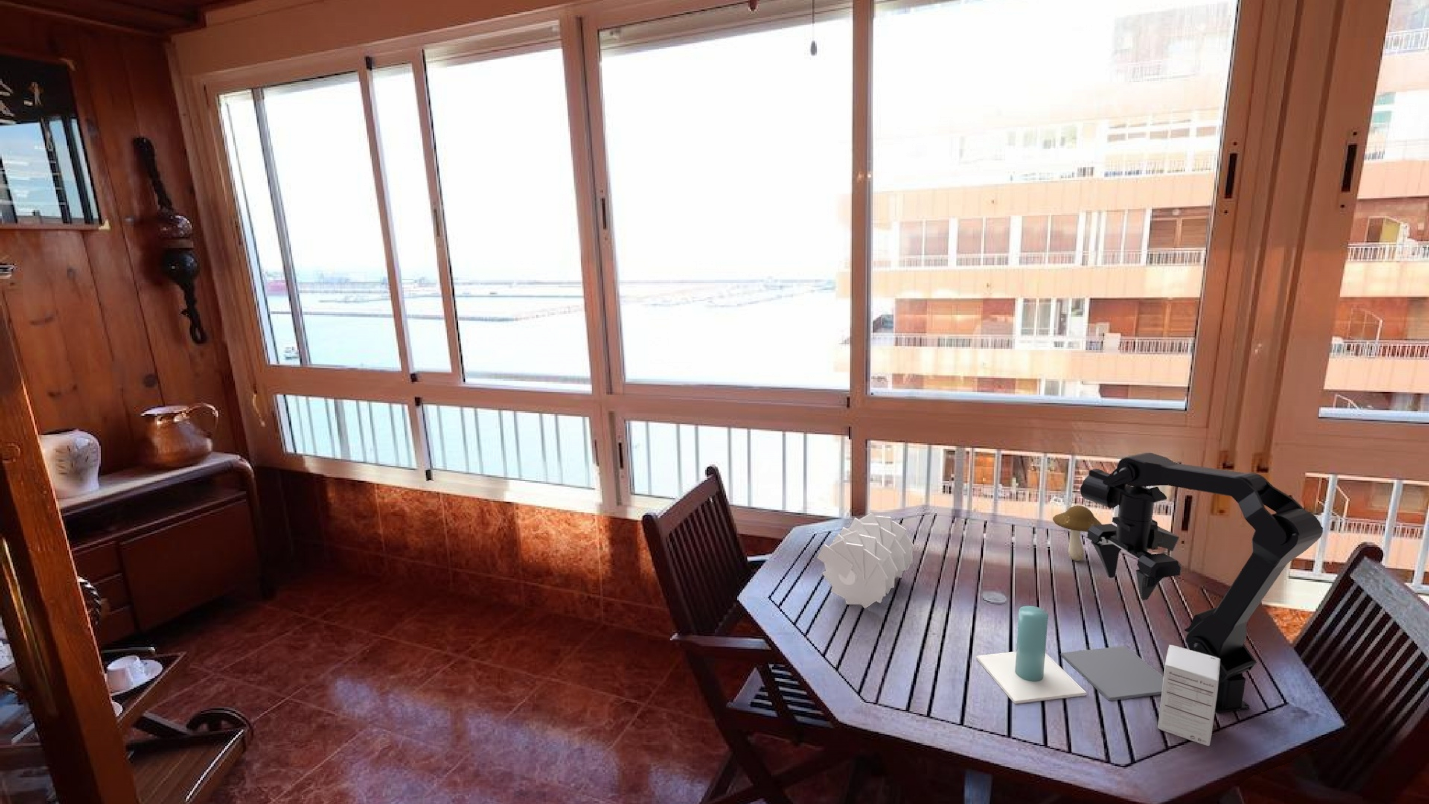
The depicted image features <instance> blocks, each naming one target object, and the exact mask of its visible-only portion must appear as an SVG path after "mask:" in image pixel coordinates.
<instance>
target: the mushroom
mask: <svg viewBox="0 0 1429 804" xmlns="http://www.w3.org/2000/svg"><path fill="white" fill-rule="evenodd" d="M1052 521H1053V523H1054V524H1056V525H1057V526H1059V527H1061V528H1064V529H1067V530H1070V535H1069V541H1068V555H1069V558H1070V559H1071V560H1073V561H1075V562H1080V561H1083V559H1084V557H1085V552H1084V547H1083V544H1082V543H1083V542H1082V539H1081V532H1083V533H1084V532H1085V533H1088V529H1089V528H1090V527H1091V526H1092V525H1102V524H1103V523H1102V522H1101V521H1099V519H1097V518H1096V516H1095V515H1094V513H1093V511H1092V510H1090V509H1089V508H1088V507H1086V506H1084V505H1073V506H1071V507H1069V508H1068V509H1067V510H1065V512H1061V513H1058V514H1055V515H1054V516H1053V517H1052Z"/></svg>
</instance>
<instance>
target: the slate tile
mask: <svg viewBox="0 0 1429 804" xmlns="http://www.w3.org/2000/svg"><path fill="white" fill-rule="evenodd" d="M1060 656H1061V658H1063V659H1064V661H1066V662H1067V663H1068V664H1069V665H1070V666H1071V667H1072V668H1074V669H1075V670H1076V671H1077V672H1078V674H1079V675H1081V676H1082V677H1083V678H1084V679H1085V680H1086V681H1087V682H1088V683H1090V684H1091V685H1092V686H1093V687H1094V688H1095V689H1096V691H1098V692H1099V693H1100V694H1102V696H1103V697H1104V698H1105V699H1107V700H1108V701H1115V700H1125V699H1126V700H1127V699H1132V698H1133V699H1134V698H1141V697H1149V696H1150V697H1151V696H1158V695H1162V686H1163V678H1164V675H1162V674H1161V673H1160V672H1159V671H1158V670H1156V669H1155V668H1154V667H1152V666H1151V665H1150V664H1149V663H1147V662H1146V660H1144V659H1142V657H1140V656H1138V655H1137V654H1136V653H1135V652H1134V651H1133V650H1131V649H1130V648H1129V647H1127V646H1126V645H1121V646H1120V645H1119V646H1113V647H1111V646H1110V647H1104V648H1103V647H1101V648H1094V649H1092V648H1091V649H1085V650H1084V649H1083V650H1075V651H1065V652H1061V653H1060Z"/></svg>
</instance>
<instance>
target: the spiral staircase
mask: <svg viewBox="0 0 1429 804" xmlns="http://www.w3.org/2000/svg"><path fill="white" fill-rule="evenodd" d="M914 547H915V545H914V544H913V542H912V540H911V538H910V537H909V535H908V533H907V528H905V527H903V526H902V525H901V524H899V523H898V522H896V521H894V520H892V517H891V516H882V515H875V514H874V513H873V512H871V513H869V514H866V515H865V516H863V517H861V518H857V517H854V518H853V521H852V522H851V524H850V526H849V527H844V526H843V527H842V529H841V531H840V534H839V533H837V535H835V537H834V539H833V541H832V542H831V543H830V545H828V544H825V543H824V544H823V546H822V548H820V551H819V553H818V556H817V557H816V558H817V559H818V560H820V561H821V562H822V563H823V564H824V569H825V571H823V572H822V575H823V577H824V578H825V580H827V581H828V583H829V584H830V585H831V590H830V592H831V593H833V594H835V595H837V596H839V597H840V598H843V599H844V600H845V602H846V605H861V606H862V607H863V608H864V609H867V608H868V607H869V606H871V605H873V604H874V603H875V602H877V603H879V604H881V603H882V601H883V598H884V597H886V596H887V594H888V595H889V593H890V590H891V589H894V588H895V580H896V578H897V577H898V578H900V579H902V577H903V573H904V572H905V571H908V570H909V568H910V565H911V564H913V563H914V562H913V561H914V560H913V548H914Z"/></svg>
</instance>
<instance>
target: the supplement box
mask: <svg viewBox="0 0 1429 804" xmlns="http://www.w3.org/2000/svg"><path fill="white" fill-rule="evenodd" d="M1219 670H1220V659H1219V658H1217V657H1213V656H1210V655H1207V654H1203V653H1199V652H1195V651H1192V650H1189V648H1184V647H1181V646H1176V645H1173V644H1168V649H1167V651H1166V657H1165V664H1164V671H1163V676H1164V678H1163V686H1162V694H1160V695H1161V696H1160V706H1159V716H1158V722H1157V724H1158V725H1157V728H1158V729H1159V730H1160V731H1163V732H1166V733H1169V734H1172V735H1175V736H1178V737H1181V738H1183V739H1185V740H1186V739H1187V740H1189V741H1192V742H1194V743H1198V744H1200V745H1204V746H1207V747H1210V745H1211V740H1212V734H1213V726H1214V719H1215V712H1216V711H1215V706H1216V699H1217V691H1218V682H1219Z"/></svg>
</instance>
